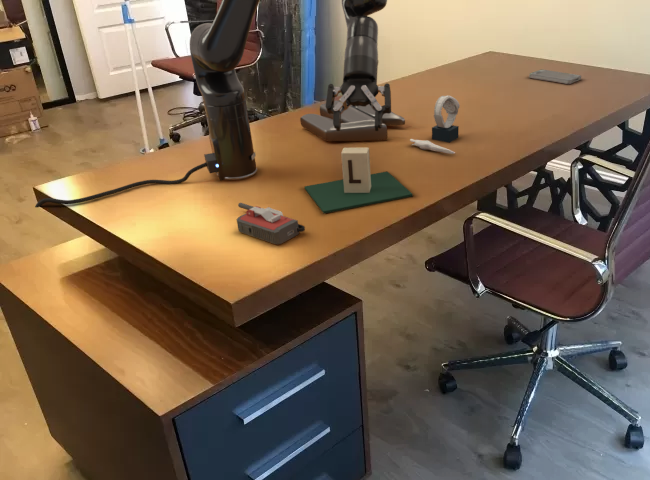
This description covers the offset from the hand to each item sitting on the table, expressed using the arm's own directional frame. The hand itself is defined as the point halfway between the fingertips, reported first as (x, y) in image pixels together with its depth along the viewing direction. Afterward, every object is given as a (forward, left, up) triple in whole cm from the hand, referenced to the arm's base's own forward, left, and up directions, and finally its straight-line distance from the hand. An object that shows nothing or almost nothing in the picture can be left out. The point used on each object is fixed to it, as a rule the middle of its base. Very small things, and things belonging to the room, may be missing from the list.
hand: (357, 129), depth 142 cm
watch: (+30, +19, -12) cm, 38 cm away
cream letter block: (-3, -5, -12) cm, 13 cm away
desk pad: (-3, -5, -12) cm, 14 cm away
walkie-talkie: (-26, -14, -12) cm, 32 cm away
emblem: (+11, +39, -12) cm, 42 cm away
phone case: (+88, +47, -12) cm, 101 cm away
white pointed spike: (+25, +15, -11) cm, 31 cm away
